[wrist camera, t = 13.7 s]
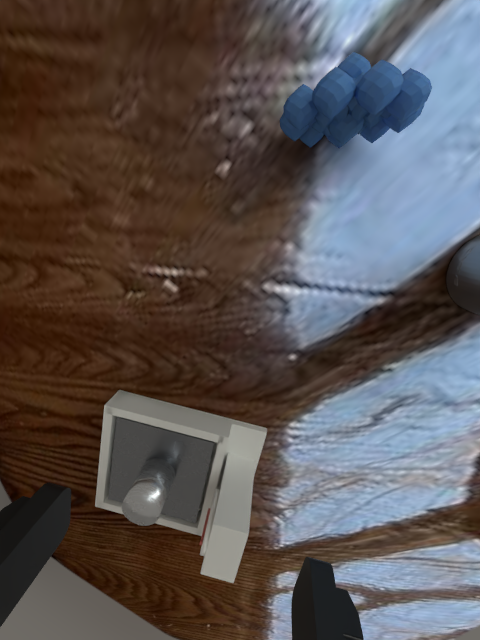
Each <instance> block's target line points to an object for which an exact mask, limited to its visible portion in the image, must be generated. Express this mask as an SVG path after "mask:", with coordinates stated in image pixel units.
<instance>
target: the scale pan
mask: <svg viewBox="0 0 480 640" xmlns="http://www.w3.org/2000/svg"><path fill="white" fill-rule="evenodd" d="M214 443H215V442H213V441H209V440H205V439H202V438H198V437H194V436H190V435H186V434H183V433H179V432H175V431H171V430H168V429H164V428H160V427H156V426H152V425H149V424H145V423H141V422H137V421H133V420H130V419H126V418H122V417H117V421H116V430H115V439H114V448H113V457H112V466H111V476H110V485H109V494H108V499H110V500H114V501H118V502H121V503H123V501H124V499H125V497H126V495H127V493H128V492H129V490H130V488H131V486H132V484H133V483H134V481H135V479H136V477H137V475H138V474H139V472H140V470H141V468H142V466H143V465H144V463H145V462H146V461H148V460H150V459H154V458H158V459H162V460H165V461H167V462H168V463H169V464H170V465H171V466H172V467H173V469H174V471H175V478H174V481H173V484H172V486H171V489H170V491H169V493H168V496H167V498H166V501H165V503H164V506H163V508H162V511H161V514H165V515H168V516H172V517H175V518H179V519H183V520H186V521H190V522H193V523H196V520H197V516H198V512H199V508H200V503H201V499H202V495H203V490H204V486H205V482H206V478H207V473H208V469H209V465H210V460H211V456H212V452H213V447H214Z"/></svg>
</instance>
